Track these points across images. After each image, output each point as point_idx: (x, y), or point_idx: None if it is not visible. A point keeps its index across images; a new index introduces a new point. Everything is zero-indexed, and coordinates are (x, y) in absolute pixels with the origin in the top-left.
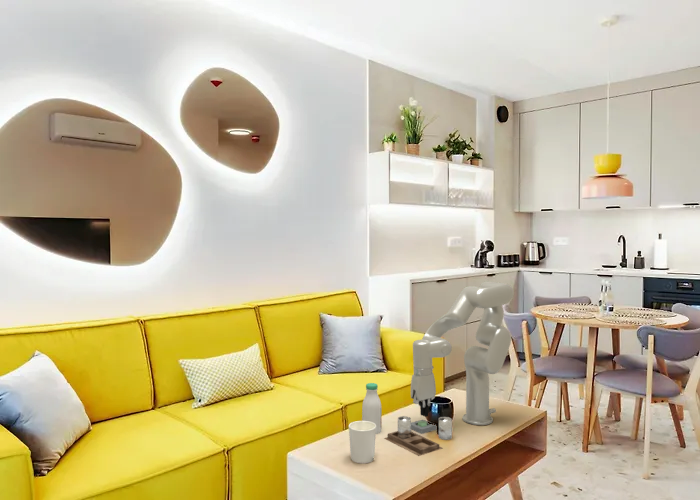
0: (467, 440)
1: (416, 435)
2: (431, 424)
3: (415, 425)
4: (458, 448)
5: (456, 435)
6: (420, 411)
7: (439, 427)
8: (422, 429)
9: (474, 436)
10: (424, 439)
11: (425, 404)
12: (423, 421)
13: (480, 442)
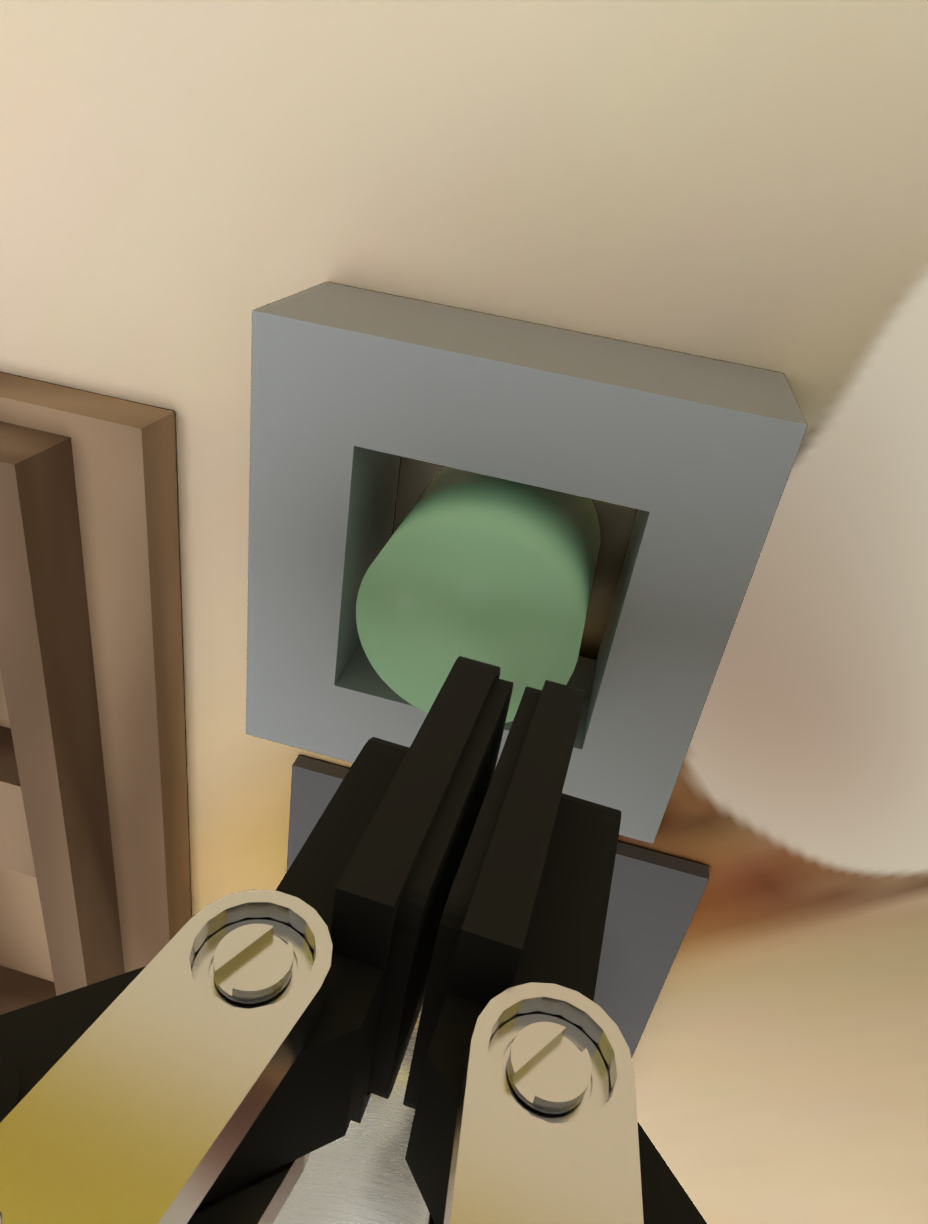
0: (679, 1121)
1: (18, 774)
2: (611, 758)
3: (292, 536)
4: None
5: (756, 995)
6: (349, 770)
7: None
8: (270, 734)
9: (885, 1156)
10: (47, 902)
11: (412, 1137)
12: (533, 624)
13: (725, 1220)
